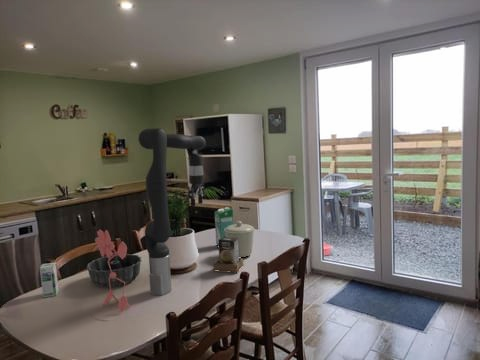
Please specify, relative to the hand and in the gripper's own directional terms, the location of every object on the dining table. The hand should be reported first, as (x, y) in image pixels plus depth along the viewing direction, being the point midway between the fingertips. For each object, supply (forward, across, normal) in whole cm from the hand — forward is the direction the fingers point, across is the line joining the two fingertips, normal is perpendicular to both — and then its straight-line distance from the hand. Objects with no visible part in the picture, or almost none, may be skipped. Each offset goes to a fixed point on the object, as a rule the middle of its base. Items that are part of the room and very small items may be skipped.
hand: (196, 204), depth 191 cm
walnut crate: (+35, -5, +16) cm, 39 cm away
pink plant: (+38, +52, -15) cm, 66 cm away
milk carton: (+34, -43, -2) cm, 55 cm away
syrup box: (+38, +46, -54) cm, 81 cm away
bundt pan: (+37, +24, -34) cm, 56 cm away
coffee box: (+34, -5, +16) cm, 38 cm away
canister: (+34, -27, +14) cm, 46 cm away
